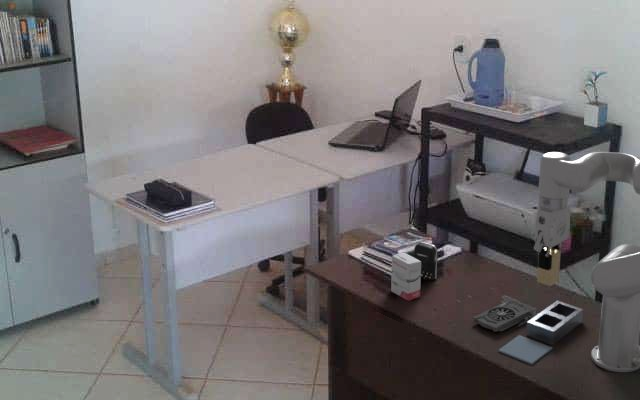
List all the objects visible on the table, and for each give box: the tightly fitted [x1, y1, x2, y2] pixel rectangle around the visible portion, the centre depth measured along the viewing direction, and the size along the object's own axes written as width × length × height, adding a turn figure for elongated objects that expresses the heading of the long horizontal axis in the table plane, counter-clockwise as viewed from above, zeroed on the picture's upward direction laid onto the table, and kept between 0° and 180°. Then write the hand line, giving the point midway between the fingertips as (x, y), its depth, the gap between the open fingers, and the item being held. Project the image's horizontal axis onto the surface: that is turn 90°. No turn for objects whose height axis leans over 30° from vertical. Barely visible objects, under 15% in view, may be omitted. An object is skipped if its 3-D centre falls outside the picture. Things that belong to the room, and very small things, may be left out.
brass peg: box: [536, 247, 562, 287], centre depth 227 cm, size 4×4×9 cm
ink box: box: [390, 251, 422, 302], centre depth 258 cm, size 9×5×12 cm, turn 34°
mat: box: [498, 334, 553, 366], centre depth 228 cm, size 10×10×1 cm
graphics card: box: [473, 295, 537, 332], centre depth 243 cm, size 17×4×12 cm
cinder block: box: [525, 300, 584, 345], centre depth 237 cm, size 8×16×4 cm, turn 136°
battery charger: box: [413, 241, 438, 282], centre depth 267 cm, size 7×4×11 cm, turn 51°
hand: (549, 265), depth 227 cm, fingers closed on brass peg, 4 cm apart
